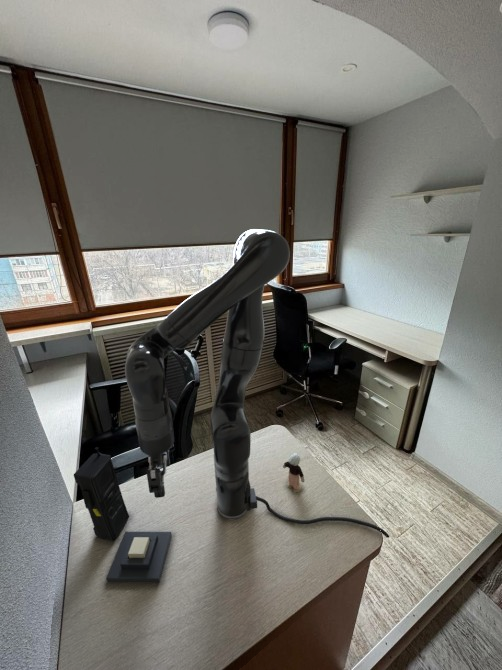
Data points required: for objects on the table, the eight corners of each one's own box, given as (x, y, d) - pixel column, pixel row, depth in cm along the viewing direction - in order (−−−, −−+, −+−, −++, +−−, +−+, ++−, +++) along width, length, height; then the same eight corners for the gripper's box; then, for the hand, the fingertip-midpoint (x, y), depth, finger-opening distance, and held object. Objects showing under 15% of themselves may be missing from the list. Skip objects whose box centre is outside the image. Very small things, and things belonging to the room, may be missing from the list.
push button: (171, 535, 70) (170, 527, 69) (159, 582, 61) (157, 573, 60) (126, 535, 71) (124, 527, 69) (107, 582, 61) (104, 573, 60)
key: (149, 541, 66) (148, 537, 66) (144, 558, 63) (143, 553, 62) (135, 541, 66) (134, 537, 66) (129, 558, 63) (127, 553, 62)
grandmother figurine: (306, 486, 83) (309, 456, 78) (302, 496, 80) (304, 465, 75) (284, 475, 87) (286, 445, 82) (279, 484, 84) (280, 454, 79)
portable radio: (112, 546, 68) (89, 475, 59) (92, 541, 69) (65, 471, 60) (131, 516, 75) (113, 448, 66) (112, 512, 76) (91, 444, 67)
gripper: (168, 450, 53) (175, 505, 60) (176, 406, 67) (181, 455, 73) (128, 453, 52) (140, 510, 59) (144, 408, 65) (152, 458, 72)
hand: (163, 479), depth 66 cm, fingers open, 8 cm apart
